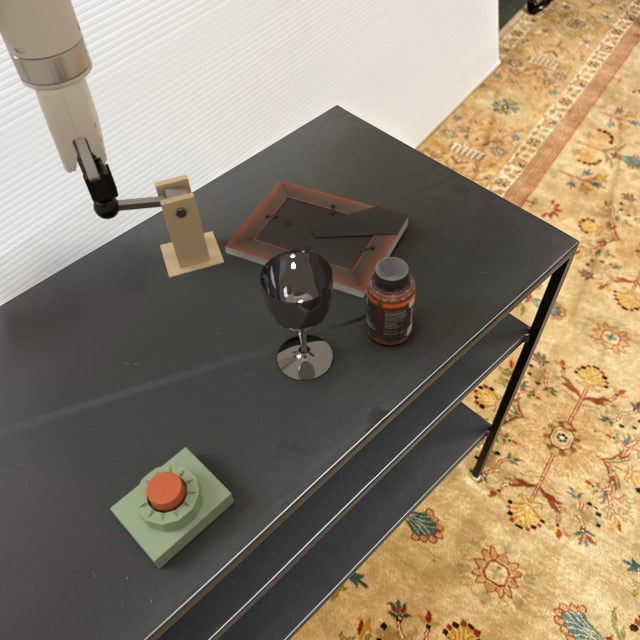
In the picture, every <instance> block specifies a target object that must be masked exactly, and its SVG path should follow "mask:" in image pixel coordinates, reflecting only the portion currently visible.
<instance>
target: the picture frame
mask: <svg viewBox="0 0 640 640" xmlns="http://www.w3.org/2000/svg"><path fill="white" fill-rule="evenodd" d="M408 226H409V214H406V213H402V212H400V211H395V210H392V209H389V208H385V207H381V206H378V205H375V206H374V205H372V204H371V205H370V204H368V203H365V202H360V201H357V200H353V199H351V198H350V199H349V198H347V197H343V196H338V195H335V194H332V193H328V192H325V191H321V190H318V189H314V188H310V187H308V186H304V185H300V184H296V183H294V182H289V181H286V180H282V179H279V180H278V181H277V182H276V183H275V185H273V187H272V188H271V189H270V191H269V192H268V193H267V194H266V196H265V197H264V198H263V200H262V201H261V202H260V203H259V204H258V205H257V206H256V208H255V209H254V210H253V211H252V213H251V214H250V215H249V217H247V218H246V220H245V221H244V222H243V224H241V226H240V227H239V229H238V230H237V231H236V232H235V233H234V234H233V236H231V238H230V239H229V240H228V242H226V244H225V245H224V249H225V253H226V254H228V255H232V256H234V257H237V258H240V259H243V260H247V261H250V262H252V263H255V264H259V265H261V266H263V267H264V266H265V264H266V263H267V262H268V261H269V260H270V259H272V258H273V257H275V256H277V255H279V254H281V253H284V252H287V251H293V250H305V251H310V252H313V253H316V254H318V255H320V256H322V257H323V258H324V259H325V260H326V261H327V262H328V263H329V264H330V266H331V269H332V274H333V290H336V291H337V290H338V291H340V292H343V293H346V294H350V295H353V296H356V297H359V298H362V299H364V297H365V296H366V292H367V281H368V279H369V277H370V275H371V274H372V273H373V272H375V266H376V264H377V263H378V262H379V261H380V260H381V259H384V258H387V257H391V255H392V253H393V251H394V249H395V248H396V246H397V245H398V243H399V241H400V239H401V238H402V236H403V234H404V233H405V231H406V229H407V227H408Z"/></svg>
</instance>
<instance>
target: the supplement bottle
mask: <svg viewBox="0 0 640 640" xmlns="http://www.w3.org/2000/svg"><path fill="white" fill-rule="evenodd" d="M416 286H417V285H416V281H415V278H414V276H413V275H412V274H411V273H410V267H409V265H408V263H407V262H406V261H405V260H404V259H402V258H399V257H396V256H389V257H387V258H384V259H381V260H380V261H379V262H378V263H377V264H376V266H375V272H373V273H372V274H371V275H370V277H369V279H368V281H367V292H366V294H365V296H366V297H365V298H366V299H365V301H366V302H365V303H366V307H365V309H366V311H365V312H366V313H365V319H366V321H365V324H366V325H365V327H366V331H367V332H366V333H367V334H368V336H369V337H370V338H371V339H372V341H374V342H375V343H377V344H380V345H385V346H395V345H399V344H402V343H404V342H405V341H406V340H407V339H408V338H409V337H410V336H411V333H412V330H413V323H414V313H415V312H414V311H415V310H414V309H415V301H416V300H415V299H416Z"/></svg>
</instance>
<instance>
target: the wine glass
mask: <svg viewBox="0 0 640 640" xmlns="http://www.w3.org/2000/svg"><path fill="white" fill-rule="evenodd" d="M259 278H260V279H259V280H260V288H261V292H262V296H263V300H264V303H265V306H266V308H267V310H268V313H269V314H270V315H271V318H273V320H274V321H275V322H276V323H277V324H278V325H279V326H281V327H282V328H284V329H286V330H289V331H293V332H296V334H297V336H294V337H291V338H289V339H288V340H286V341H285V342H284V343H283V344H282V345H281V346H280V348H279V349H278V351H277V356H276V363H277V366H278V368H279V370H280V371H281V373H283V374H284V375H285V376H287V377H288V378H290V379H292V380H296V381H311V380H315V379H318V378H320V377H322V376H323V375H324V374H325V373H327V372H328V371H329V369H330V368H331V366H332V365H333V361H334V353H333V350H332V348H331V346H330V344H329V343H328V342H327V341H325V339H322V338H320V337H318V336H316V335H311V334H308V331H309V330H312V329H314V328H316V327H317V326H318V325H320V324H321V323H322V322H323V321H324V320H325V319H326V317H327V315H328V313H329V310H330V307H331V305H332V300H333V294H334V288H333V274H332V269H331V266H330V264H329V263H328V262H327V261H326V260H325V259H324V258H323V257H322V256H320V255H318V254H316V253H313V252H310V251H305V250H293V251H287V252H284V253H281V254H279V255H277V256H275V257H273V258H272V259H270V260H269V261H268V262H267V263H266V264H265V266H264V265H263V267H262V269H261V272H260V275H259Z"/></svg>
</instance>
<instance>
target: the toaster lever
mask: <svg viewBox="0 0 640 640" xmlns="http://www.w3.org/2000/svg"><path fill="white" fill-rule="evenodd" d="M187 193H188V192H187V190H186V187H180V188H169V189H165V196H158V195H157V196H148V197H137V198H135V197H134V198H126V199H118V198H117V197H116V198H112V199H108V200H105V201H101V202H97V203H95V202H93V211H94V213H95V214H96V215H97V216H98V217H99V218H101V219H103V220H111V219H114V218H115V217H117V216H118V214H119V213H120V212H122V211H123V212H124V211H133V210H143V209H152V208H162V207H161V203H160V200H164V199H168V198H172V197H176V196H180V195H184V194H187Z"/></svg>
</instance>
